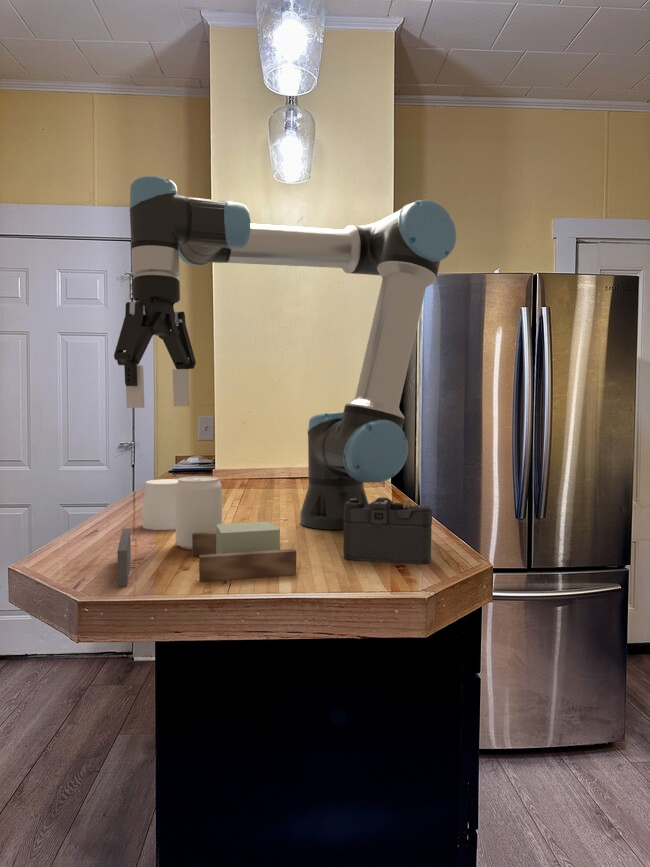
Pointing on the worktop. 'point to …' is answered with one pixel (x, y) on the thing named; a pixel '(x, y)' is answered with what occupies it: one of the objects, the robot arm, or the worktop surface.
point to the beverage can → (197, 507)
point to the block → (247, 537)
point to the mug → (159, 505)
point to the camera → (387, 532)
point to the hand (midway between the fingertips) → (160, 407)
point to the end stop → (124, 557)
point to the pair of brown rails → (239, 561)
